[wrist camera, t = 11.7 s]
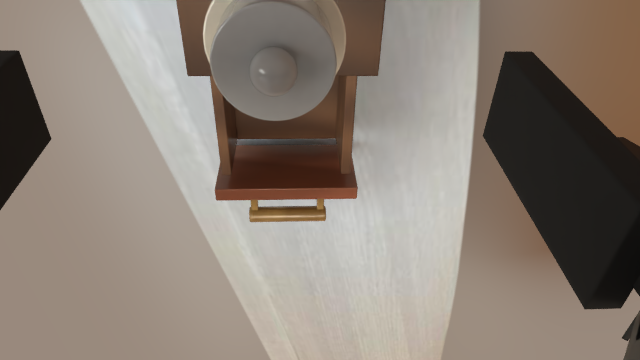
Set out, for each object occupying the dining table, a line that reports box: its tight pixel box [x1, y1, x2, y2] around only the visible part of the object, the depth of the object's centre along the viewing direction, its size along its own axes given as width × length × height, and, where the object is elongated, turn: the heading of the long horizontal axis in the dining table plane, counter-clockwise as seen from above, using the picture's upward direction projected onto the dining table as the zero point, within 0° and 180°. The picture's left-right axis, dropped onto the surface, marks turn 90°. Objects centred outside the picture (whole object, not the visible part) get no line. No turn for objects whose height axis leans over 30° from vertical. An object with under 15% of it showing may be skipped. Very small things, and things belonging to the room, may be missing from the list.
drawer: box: [210, 76, 358, 222], centre depth 41 cm, size 19×12×7 cm, turn 179°
